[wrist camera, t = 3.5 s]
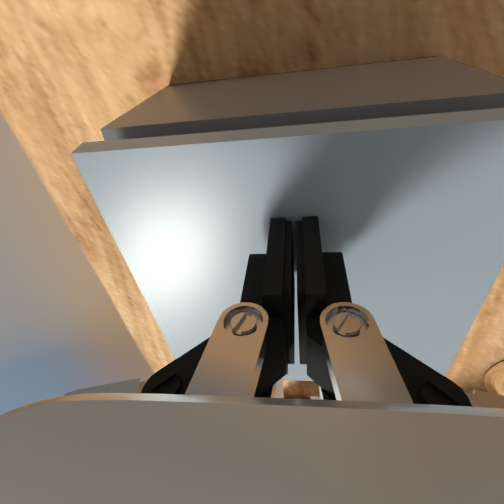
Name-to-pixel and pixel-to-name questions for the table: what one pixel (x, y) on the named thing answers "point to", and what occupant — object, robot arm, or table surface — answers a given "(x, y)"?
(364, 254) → the lid
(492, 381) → the silver metal tumbler
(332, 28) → the table surface
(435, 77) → the storage box
